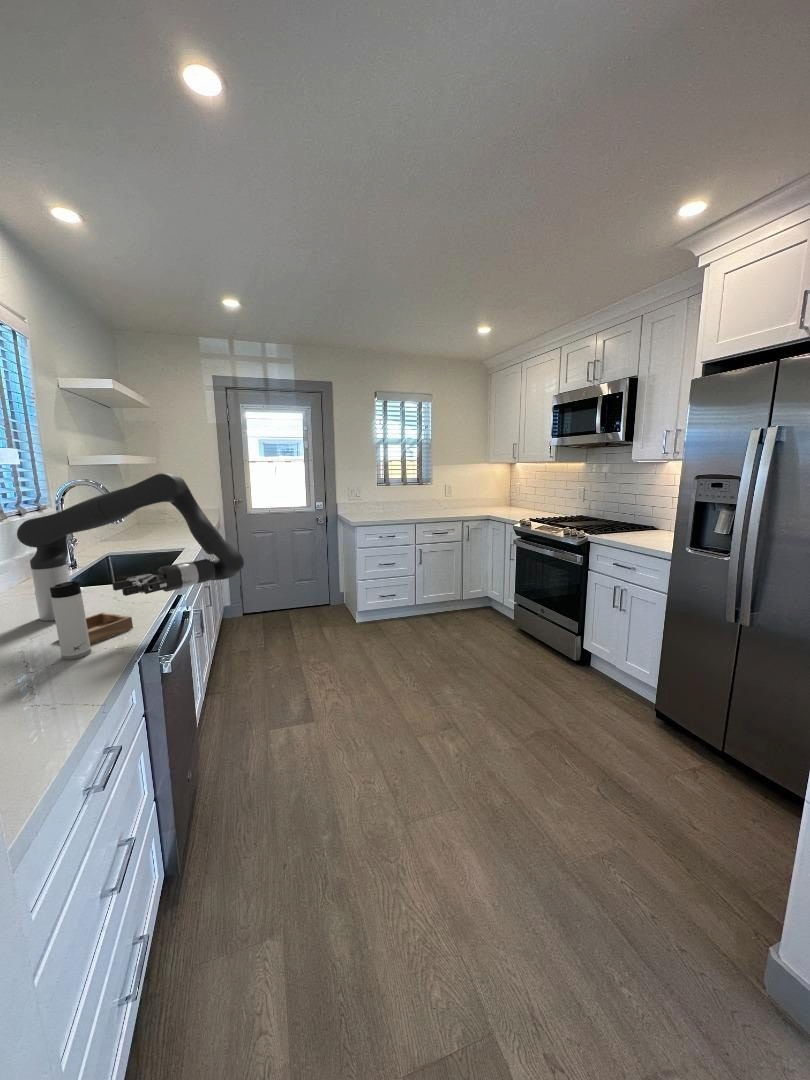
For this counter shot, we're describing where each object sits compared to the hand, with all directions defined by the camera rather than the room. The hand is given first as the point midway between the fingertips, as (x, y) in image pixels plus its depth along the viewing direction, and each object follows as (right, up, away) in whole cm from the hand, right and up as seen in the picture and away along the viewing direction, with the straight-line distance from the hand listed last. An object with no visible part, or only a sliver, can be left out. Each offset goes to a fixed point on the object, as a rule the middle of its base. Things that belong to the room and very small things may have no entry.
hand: (117, 589), depth 123 cm
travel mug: (-7, -17, -5) cm, 19 cm away
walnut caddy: (-12, -14, +9) cm, 21 cm away
